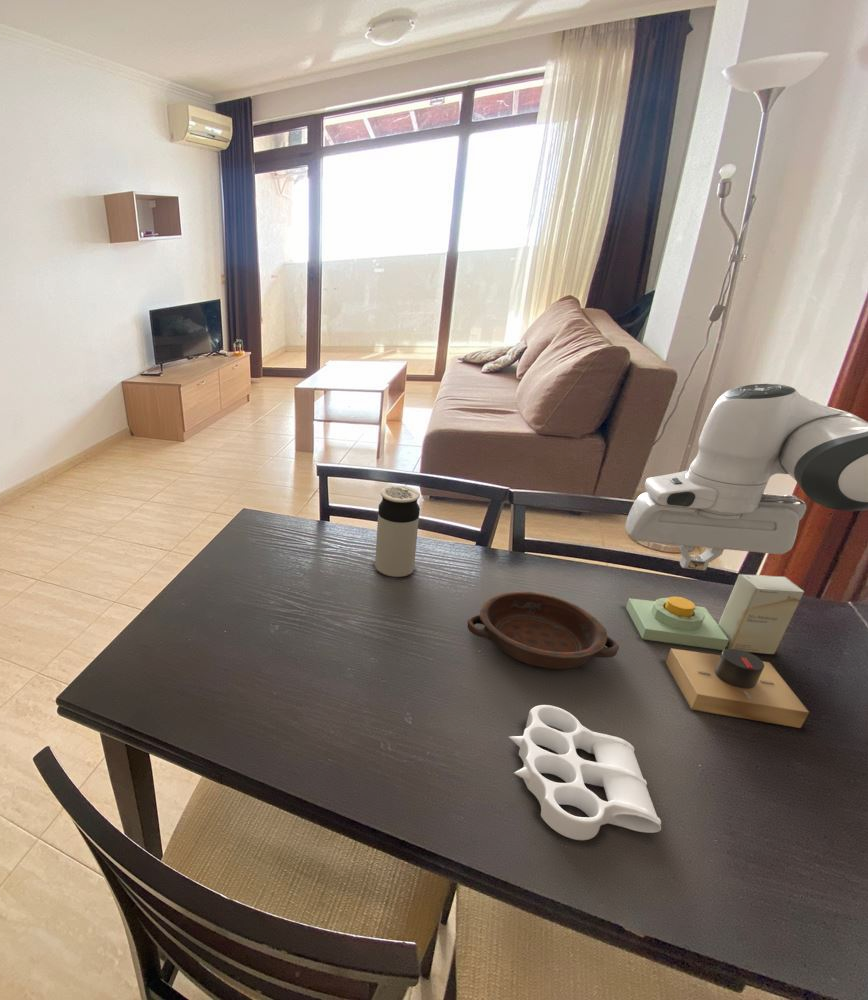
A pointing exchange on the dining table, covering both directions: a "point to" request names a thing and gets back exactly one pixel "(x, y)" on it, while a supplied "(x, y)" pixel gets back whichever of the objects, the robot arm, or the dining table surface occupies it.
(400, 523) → the travel mug
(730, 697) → the dial panel
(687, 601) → the button
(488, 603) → the dish
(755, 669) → the dial
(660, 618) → the button housing
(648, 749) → the dining table surface
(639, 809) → the knuckle duster
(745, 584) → the cosmetic box
